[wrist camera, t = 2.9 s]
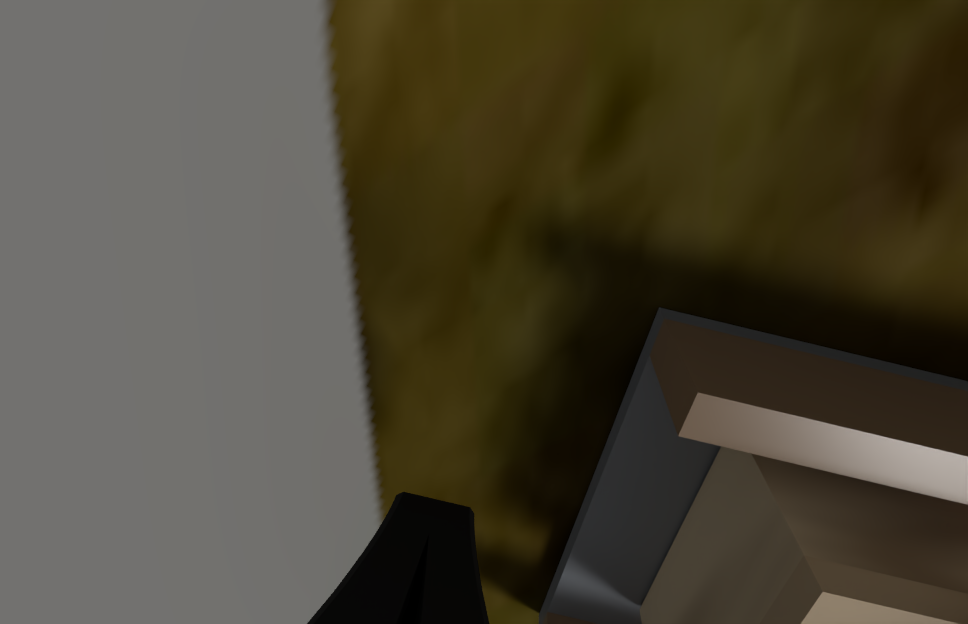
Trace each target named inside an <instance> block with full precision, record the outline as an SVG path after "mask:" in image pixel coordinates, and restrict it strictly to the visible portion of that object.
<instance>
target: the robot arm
mask: <svg viewBox="0 0 968 624" xmlns="http://www.w3.org/2000/svg"><path fill="white" fill-rule="evenodd" d="M307 624H489V621H488V616H487V611H486V606H485V602H484V597H483V592H482V586H481V581H480V574H479V568H478V561H477V553H476V545H475V532H474V513H473V511H472V510H471V508H470V507H466V506H462V505H458V504H454V503H449V502H445V501H441V500H436V499H432V498H428V497H423V496H419V495H415V494H411V493H406V492H402V493H400V494H398V495H396V497H395V500H394V502H393V504H392V506H391V508H390V510H389V512H388V514H387V515H386V517H385V519H384V521H383V522H382V524H381V526H380V527H379V529H378V531H377V532H376V534H375V535H374V537H373V538H372V540H371V541H370V543H369V544H368V546H367V547H366V549H365V550H364V552H363V553H362V555H361V556H360V557H359V558H358V560H357V561H356V563H355V564H354V565H353V567H352V568H351V570H350V571H349V572H348V573H347V575H346V576H345V578H344V579H343V580H342V582H341V583H340V584H339V586H338V587H337V588H336V589H335V591H334V592H333V593H332V594H331V596H330V597H329V598H328V599H327V600H326V602H325V603H324V604H323V605H322V606H321V608H320V609H319V610H318V611H317V613H316V614H315V615H314V616H313V617H312V619H311V620H310V621H309V622H308V623H307Z"/></svg>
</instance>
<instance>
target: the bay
mask: <svg viewBox="0 0 968 624" xmlns="http://www.w3.org/2000/svg"><path fill="white" fill-rule="evenodd" d="M721 446H722V447H726V448H730V449H735V450H739V451H743V452H747V453H752V454H756V455H760V456H764V457H768V458H773V459H777V460H781V461H785V462H790V463H794V464H798V465H802V466H806V467H811V468H815V469H819V470H823V471H828V472H832V473H836V474H840V475H844V476H849V477H853V478H857V479H861V480H866V481H870V482H874V483H878V484H882V485H887V486H891V487H895V488H899V489H904V490H908V491H912V492H916V493H920V494H925V495H929V496H933V497H937V498H942V499H946V500H950V501H954V502H958V503H963V504H967V505H968V381H965V380H961V379H956V378H952V377H948V376H944V375H940V374H936V373H931V372H927V371H923V370H919V369H915V368H910V367H906V366H902V365H898V364H894V363H890V362H885V361H881V360H877V359H873V358H869V357H865V356H860V355H856V354H852V353H848V352H844V351H839V350H835V349H831V348H827V347H823V346H819V345H814V344H810V343H806V342H802V341H798V340H794V339H789V338H785V337H781V336H777V335H773V334H769V333H764V332H760V331H756V330H752V329H748V328H743V327H739V326H735V325H731V324H727V323H723V322H718V321H714V320H710V319H706V318H702V317H698V316H693V315H689V314H685V313H681V312H677V311H672V310H668V309H664V308H660V307H659V309H658V311H657V314H656V316H655V319H654V322H653V324H652V327H651V329H650V332H649V334H648V337H647V339H646V342H645V345H644V347H643V350H642V352H641V355H640V357H639V360H638V363H637V365H636V368H635V370H634V373H633V375H632V378H631V380H630V383H629V386H628V388H627V391H626V393H625V396H624V398H623V401H622V404H621V406H620V409H619V411H618V414H617V416H616V419H615V421H614V424H613V427H612V429H611V432H610V434H609V437H608V439H607V442H606V445H605V447H604V450H603V452H602V455H601V457H600V460H599V462H598V465H597V468H596V470H595V473H594V475H593V478H592V480H591V483H590V485H589V488H588V491H587V493H586V496H585V498H584V501H583V503H582V506H581V509H580V511H579V514H578V516H577V519H576V521H575V524H574V526H573V529H572V532H571V534H570V537H569V539H568V542H567V544H566V547H565V550H564V552H563V555H562V557H561V560H560V562H559V565H558V567H557V570H556V573H555V575H554V578H553V580H552V583H551V585H550V588H549V591H548V593H547V596H546V598H545V601H544V603H543V606H542V608H541V611H540V614H539V624H642V621H641V616H640V608H641V606H642V604H643V602H644V600H645V598H646V596H647V594H648V592H649V590H650V588H651V586H652V584H653V582H654V580H655V578H656V576H657V574H658V572H659V570H660V568H661V566H662V564H663V562H664V560H665V558H666V556H667V554H668V552H669V550H670V548H671V546H672V544H673V542H674V540H675V538H676V536H677V534H678V532H679V530H680V528H681V526H682V524H683V522H684V520H685V518H686V516H687V514H688V512H689V510H690V508H691V506H692V504H693V502H694V500H695V498H696V496H697V494H698V492H699V490H700V488H701V486H702V484H703V482H704V480H705V478H706V476H707V474H708V472H709V470H710V468H711V466H712V464H713V462H714V460H715V458H716V456H717V454H718V452H719V450H720V448H721Z"/></svg>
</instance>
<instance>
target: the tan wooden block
mask: <svg viewBox="0 0 968 624" xmlns="http://www.w3.org/2000/svg"><path fill="white" fill-rule="evenodd" d="M640 616H641V621H642V624H968V505H967V504H963V503H958V502H954V501H950V500H946V499H942V498H937V497H933V496H929V495H925V494H920V493H916V492H912V491H908V490H904V489H899V488H895V487H891V486H887V485H882V484H878V483H874V482H870V481H866V480H861V479H857V478H853V477H849V476H844V475H840V474H836V473H832V472H828V471H823V470H819V469H815V468H811V467H806V466H802V465H798V464H794V463H790V462H785V461H781V460H777V459H773V458H768V457H764V456H760V455H756V454H752V453H747V452H743V451H739V450H735V449H730V448H726V447H722V446H721V448H720V450H719V452H718V454H717V456H716V458H715V460H714V462H713V464H712V466H711V468H710V470H709V472H708V474H707V476H706V478H705V480H704V482H703V484H702V486H701V488H700V490H699V492H698V494H697V496H696V498H695V500H694V502H693V504H692V506H691V508H690V510H689V512H688V514H687V516H686V518H685V520H684V522H683V524H682V526H681V528H680V530H679V532H678V534H677V536H676V538H675V540H674V542H673V544H672V546H671V548H670V550H669V552H668V554H667V556H666V558H665V560H664V562H663V564H662V566H661V568H660V570H659V572H658V574H657V576H656V578H655V580H654V582H653V584H652V586H651V588H650V590H649V592H648V594H647V596H646V598H645V600H644V602H643V604H642V606H641V608H640Z"/></svg>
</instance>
